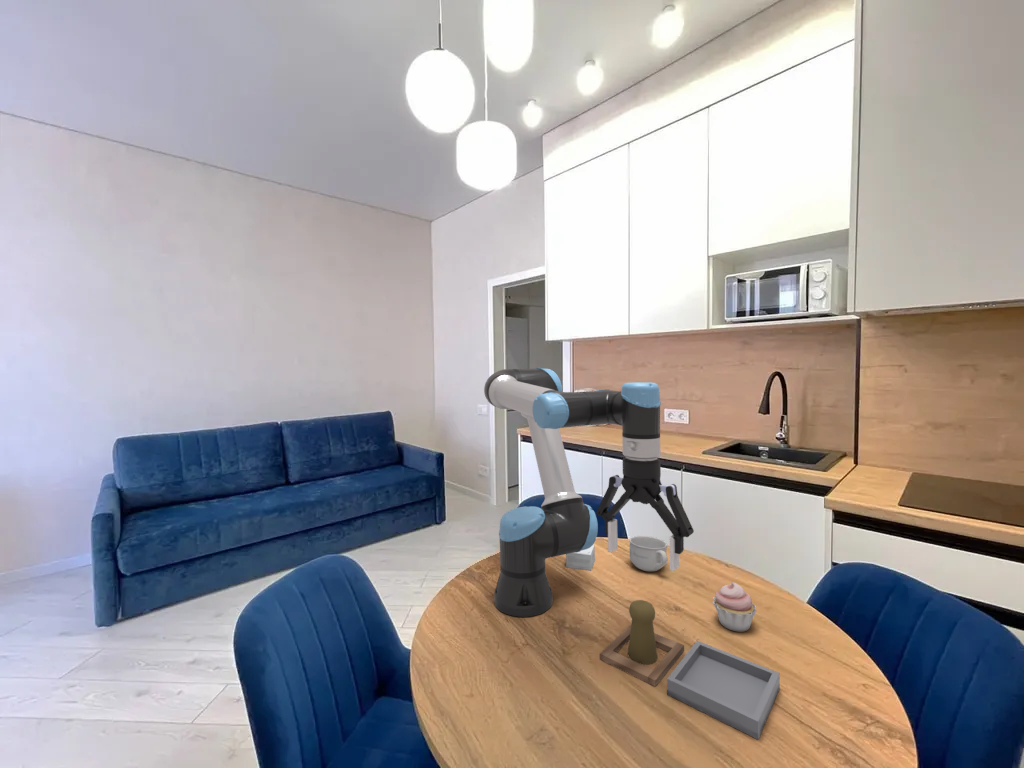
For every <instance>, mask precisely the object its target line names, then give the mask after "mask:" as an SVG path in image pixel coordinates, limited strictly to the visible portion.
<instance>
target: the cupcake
mask: <svg viewBox="0 0 1024 768" xmlns="http://www.w3.org/2000/svg"><path fill="white" fill-rule="evenodd" d="M712 599H713V601H712V605H713V606H714V608H715V610H716V613H717V616H718V620H719V623H720V624H721V625H722V626H723V627H724V628H726V629H727V630H730V631H734V632H738V633H740V632H741V633H742V632H747V631H749V629H750V627H751V625H752V621H753V618H754V617H755V615H756V613H757V609H756V608H757V606H756V604H754V603H753V600H752V598H751V596H750V594H749V593H748V592H746V591H745V589H744V588H743V587H742V586H741V585H740V584H738V583H736V582H733V581H732V582H731V583H730V584H724V585H723V586H721V588H720V589H719V590H717V591H716V592H715V596H713V597H712Z"/></svg>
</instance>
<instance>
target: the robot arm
mask: <svg viewBox="0 0 1024 768" xmlns="http://www.w3.org/2000/svg"><path fill="white" fill-rule="evenodd" d="M483 391H484V396H485V397H484V398H485V399H486V400H487V402H488V403H489V404H490V405H491V406H492V407H496V408H497V409H500V410H501V409H502V410H506V409H510V410H513V411H516V412H518V413H520V416H521V417H523V418H525V419H527V423H528V428H529V435H530V438H531V442H532V446H533V451H534V456H535V460H536V464H537V465H536V466H537V468H538V473H539V478H540V482H541V486H542V487H541V488H542V491H543V494H544V495H543V496H544V501H542V504H541V505H540V506H541V507H539V506H532V505H530V506H526V505H525V506H519V507H516V508H512V509H510V510H508V511H506V512H505V513H504V514H503V515H502V517H500V521H499V531H498V536H499V557H500V558H499V563H500V567H499V568H500V569H499V570H500V573H499V575H498V578H497V579H498V580H497V583H496V587H495V589H494V593H493V601H494V606H495V608H496V609H497V610H498V611H500V612H502V613H503V614H506V615H508V616H512V617H513V616H514V617H519V618H522V617H523V618H527V617H528V618H529V617H533V616H538V615H541V614H543V613H545V612H547V611H548V610H549V609H550V608H551V607H552V606H553V602H554V599H553V590H552V588H551V586H550V583H549V578H548V576H547V573H546V559H550V558H554V557H558V556H563V555H566V554H569V553H574V552H580V551H581V550H585V549H588V548H590V547H591V546H592V545H595V542H596V539H597V536H598V530H599V527H598V526H599V524H598V519H597V517H601V518H602V519H603V520H604V533H605V535H607V550H608V551H607V552H608V553H613V552H615V551H616V550H618V519H616V518H615V517H616V515H617V514H618V513H619V512H620V511H621V510H622V509H623V508H624V507H625V506H626V504H628V503H629V501H630V500H631V501H632V503H641V504H643V505H648V504H649V506H651V508H652V509H654V510H655V512H656V513H657V514H658V516H659V517H660V519H661V520H662V522H663V523H664V524H665V525H666V527H667V529H668V530H669V532H670V533H671V534H672V535H671V536H670V537H669V571H672V572H675V570H677V569H678V568H679V567H680V555H681V554H682V553H684V549H685V547H684V545H685V544H684V543H685V541H684V540H685V539H684V538H689V537H690V536H691V535H693V533H694V531H695V530H694V528H693V525H692V524H691V521H690V520H689V517H688V515H687V513H686V511H685V509H684V506H683V505H682V502H681V500H680V498H679V496H678V489H677V488H678V487H677V485H676V483H672V484H670V485H669V484H668V485H667V484H666V485H665V484H663V483H662V482H661V474H662V473H661V460H660V457H661V456H662V455H661V406H662V405H661V403H662V401H661V394H660V393H661V392H660V387H659V384H657V383H656V382H650V381H649V382H648V381H647V382H639V381H637V382H625V383H623V384H622V386H621V390H611V389H595V390H589V391H571V392H569V391H568V392H567V391H563V386H562V381H561V380H560V377H559V376H558V374H557V373H556V372H555V371H553V370H552V369H550V368H542V367H535V368H506V369H500V370H498V371H496V372H494V373H492V374H491V375H489V377H488V378H487V380H486V381H485V383H484V387H483ZM597 425H617V426H621V427H622V430H621V431H622V432H621V435H622V436H621V438H622V441H621V442H622V455H623V456H624V457H623V458H622V475H623V477H620V475H619V474H615V475H612V476H610V477H609V479H608V487H607V489H606V491H605V493H604V495H603V497H602V499H601V502H600V504H599V505H598V507H597V510H596V512H595V511H594V510H593V508H592V507H591V505H589V504H586V503H584V500H583V497H582V496H581V495H580V494H578V493H577V492H575V491H576V490H575V486H574V483H573V479H572V475H571V469H570V468H569V467H570V466H569V463H568V462H569V461H568V458H567V454H566V450H565V447H564V443H563V442H564V441H563V438H562V434H561V431H560V429H564V428H574V427H587V426H597ZM621 486H622V488H623V490H624V492H623V494H621V496H620V497H619V499H618V500H617V501H616V502H615V503H614V504H613V506H612V507H611V508H610V505H611V504H612V502H613V500H614V497H615V495H616V493H617V492H618V490H619V487H621ZM661 492H662V493H663V496H665V497H666V499H667V503H668V505H669V507H670V509H671V511H672V512H671V511H670V510H669V507H667V505H666V504H665V501H664V499H663V497H662V496H661V495H660V494H661ZM609 508H610V509H609Z"/></svg>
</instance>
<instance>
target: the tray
mask: <svg viewBox="0 0 1024 768" xmlns="http://www.w3.org/2000/svg"><path fill="white" fill-rule="evenodd" d="M780 676H781V675H780V672H778V671H775V670H773V669H770V668H768V667H765V666H762V665H760V664H758V663H755V662H754V661H753V662H752V661H750V660H747V659H744V658H743V657H740V656H737V655H735V654H732V653H729V652H727V651H725V650H722V649H720V648H717V647H715V646H712V645H710V644H707V643H705V642H702V641H700V640H696V641H695V643H694V644H693V645H691V648H689V650H688V651H687V653H686V654H685V655H684V656H683V658H682V659H681V661H680V662H679V663H678V664H677V666H675V668H674V669H673V670H672V672H671V673H670V674H669V675H668V677H667V678H666V685H667V686H666V690H667V691H666V693H667V696H669V697H670V698H673V699H675V700H677V701H679V702H681V703H683V704H685V705H688V706H689V707H692V708H694V709H695V710H697V711H699V712H701V713H703V714H705V715H707V716H709V717H711V718H713V719H715V720H718V721H720V722H721V723H723V724H725V725H727V726H730V727H732V728H734V729H736V730H738V731H740V732H741V733H743V734H746V735H747V736H750V737H752V738H754V739H755V740H759V739H760V736H761V735H762V732H763V729H764V727H765V725H766V723H767V720H768V718H769V716H770V713H771V710H772V708H773V706H774V703H775V700H776V698H777V696H778V693H779V692H780V683H781V682H780V680H781V679H780Z"/></svg>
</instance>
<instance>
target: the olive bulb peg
mask: <svg viewBox="0 0 1024 768" xmlns="http://www.w3.org/2000/svg"><path fill="white" fill-rule="evenodd" d="M628 613H629V616H630V618H631V624H630V625H631V631H630V639H629V641H628V647H627V656H628V658H629V659H631V660H633V661H635V662H637V663H639V664H642V665H644V666H646V665H647V666H648V665H653V664H655V663H656V662H657V660H658V651H657V647H656V642H655V635H654V633H655V630H654V623H653V621H654V620H655V618H656V610H655V607H654V605H653V604H652V603H651V602H649V601H648V600H647V601H646V600H643V599H637V600H633V601H632V602H631V603H630V604H629V609H628Z"/></svg>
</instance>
